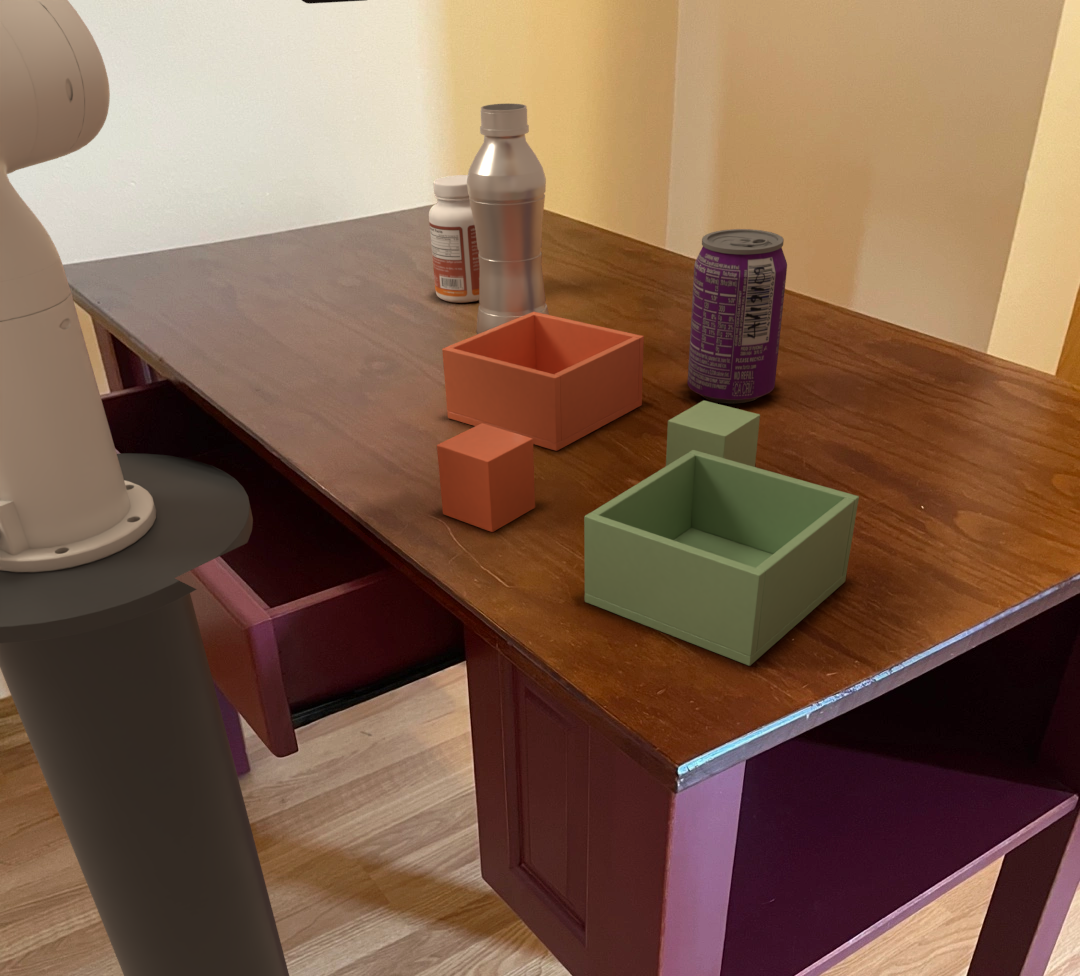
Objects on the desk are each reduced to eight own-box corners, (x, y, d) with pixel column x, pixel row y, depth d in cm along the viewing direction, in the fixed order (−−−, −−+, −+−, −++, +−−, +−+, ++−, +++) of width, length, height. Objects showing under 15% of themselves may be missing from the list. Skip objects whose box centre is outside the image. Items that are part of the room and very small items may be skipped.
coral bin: (556, 451, 81) (555, 378, 78) (447, 418, 87) (441, 348, 84) (642, 405, 88) (644, 335, 85) (535, 377, 94) (533, 311, 91)
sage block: (719, 506, 73) (725, 436, 70) (664, 489, 76) (667, 420, 73) (753, 482, 76) (760, 414, 73) (699, 467, 78) (703, 400, 75)
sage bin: (749, 666, 58) (759, 575, 55) (584, 602, 64) (583, 516, 61) (845, 581, 65) (859, 496, 62) (688, 530, 71) (692, 449, 67)
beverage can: (783, 383, 91) (800, 231, 84) (760, 414, 86) (776, 254, 79) (702, 373, 94) (712, 224, 86) (675, 402, 88) (683, 246, 81)
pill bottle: (487, 284, 117) (481, 170, 110) (500, 300, 112) (494, 182, 105) (430, 290, 115) (420, 175, 109) (441, 306, 111) (431, 188, 104)
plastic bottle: (527, 376, 94) (518, 115, 82) (463, 364, 97) (445, 110, 85) (565, 354, 98) (561, 103, 86) (502, 343, 101) (490, 98, 89)
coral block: (492, 532, 71) (488, 461, 68) (442, 514, 74) (436, 444, 71) (535, 507, 74) (533, 438, 71) (486, 490, 76) (482, 422, 73)
